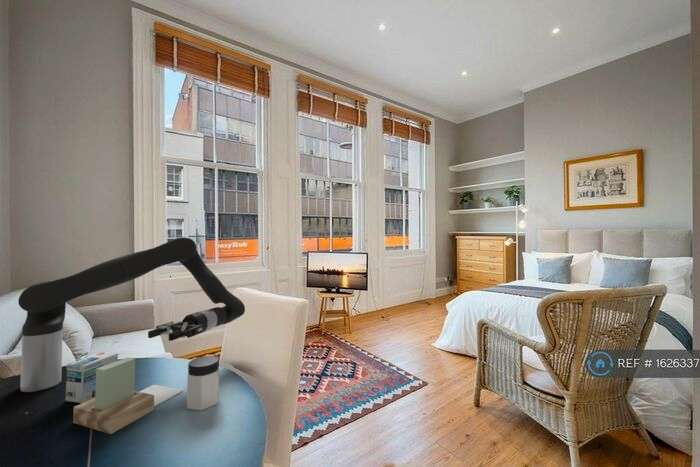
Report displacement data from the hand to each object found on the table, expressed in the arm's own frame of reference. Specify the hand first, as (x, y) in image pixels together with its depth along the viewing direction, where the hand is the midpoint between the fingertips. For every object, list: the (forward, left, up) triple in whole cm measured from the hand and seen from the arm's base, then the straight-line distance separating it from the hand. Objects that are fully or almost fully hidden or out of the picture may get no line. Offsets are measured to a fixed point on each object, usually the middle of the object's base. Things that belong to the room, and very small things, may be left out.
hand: (159, 336), depth 93 cm
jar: (+17, +1, -18) cm, 25 cm away
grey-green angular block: (0, -12, -18) cm, 22 cm away
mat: (0, -1, -18) cm, 18 cm away
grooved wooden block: (0, -12, -18) cm, 21 cm away
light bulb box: (-19, -6, -18) cm, 27 cm away
